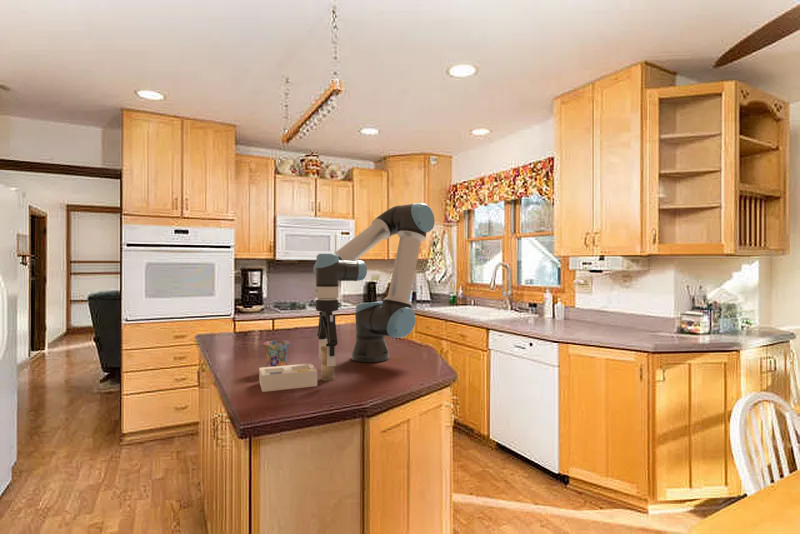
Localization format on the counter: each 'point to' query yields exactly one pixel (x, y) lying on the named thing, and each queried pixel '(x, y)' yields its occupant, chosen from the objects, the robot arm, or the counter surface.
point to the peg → (326, 371)
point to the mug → (276, 353)
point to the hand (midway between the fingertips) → (326, 361)
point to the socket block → (287, 377)
